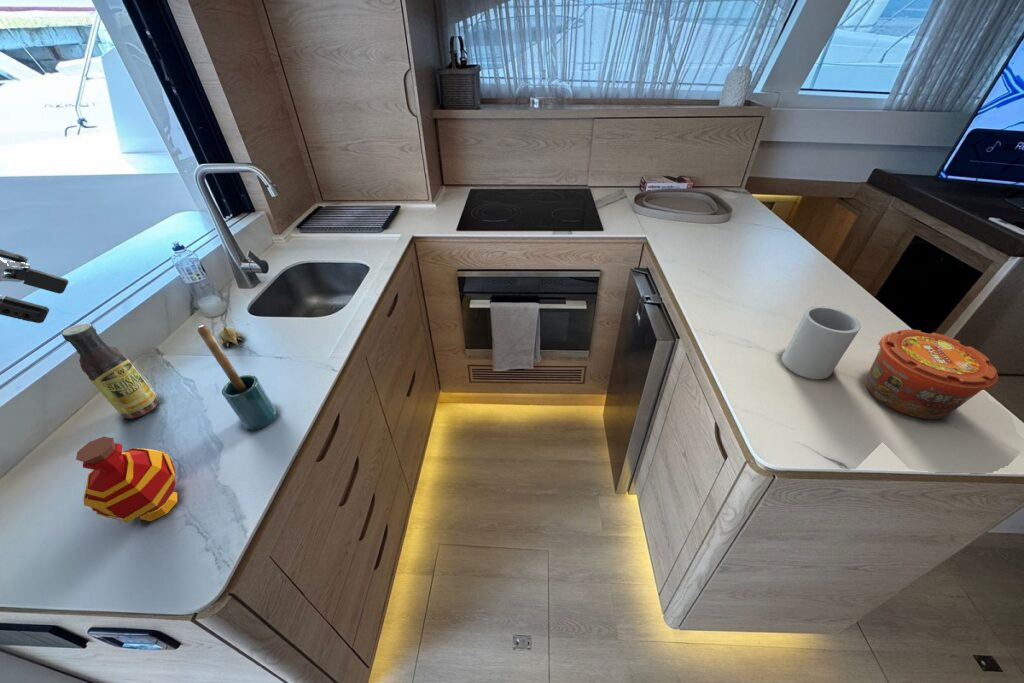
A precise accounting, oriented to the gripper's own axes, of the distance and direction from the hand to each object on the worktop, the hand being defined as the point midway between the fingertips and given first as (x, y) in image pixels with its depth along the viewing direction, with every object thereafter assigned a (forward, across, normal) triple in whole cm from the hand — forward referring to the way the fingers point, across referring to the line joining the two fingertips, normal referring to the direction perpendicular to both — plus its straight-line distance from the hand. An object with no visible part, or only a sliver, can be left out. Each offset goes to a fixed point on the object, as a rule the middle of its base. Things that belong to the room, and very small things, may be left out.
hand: (56, 300), depth 53 cm
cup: (+105, -46, -60) cm, 129 cm away
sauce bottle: (+17, +16, +28) cm, 37 cm away
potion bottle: (+20, -12, +24) cm, 34 cm away
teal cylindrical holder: (+31, 0, +13) cm, 34 cm away
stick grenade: (+31, 0, +13) cm, 33 cm away
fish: (+28, +30, +17) cm, 45 cm away
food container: (+110, -61, -65) cm, 142 cm away
